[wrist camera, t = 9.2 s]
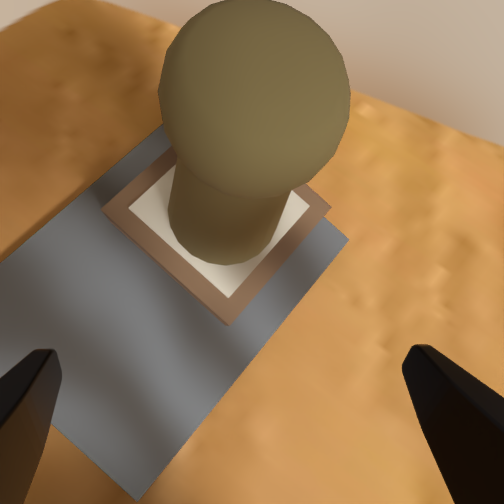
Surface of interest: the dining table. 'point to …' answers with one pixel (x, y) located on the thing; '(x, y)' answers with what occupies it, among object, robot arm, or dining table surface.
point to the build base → (149, 311)
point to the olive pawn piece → (247, 121)
